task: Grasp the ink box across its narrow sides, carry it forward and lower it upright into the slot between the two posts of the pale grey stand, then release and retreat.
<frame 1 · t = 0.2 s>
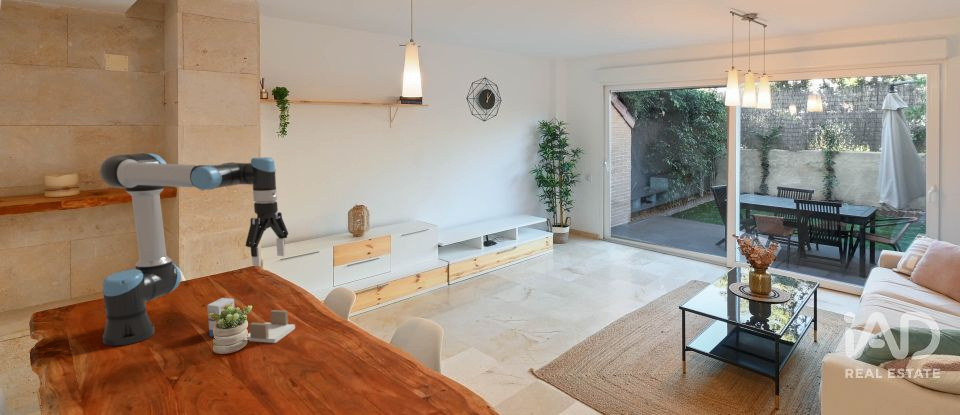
hand: (269, 260, 178), 27 cm above the table, fingers open, 13 cm apart
stand: (270, 334, 180), on the table
ink box: (223, 332, 182), on the table
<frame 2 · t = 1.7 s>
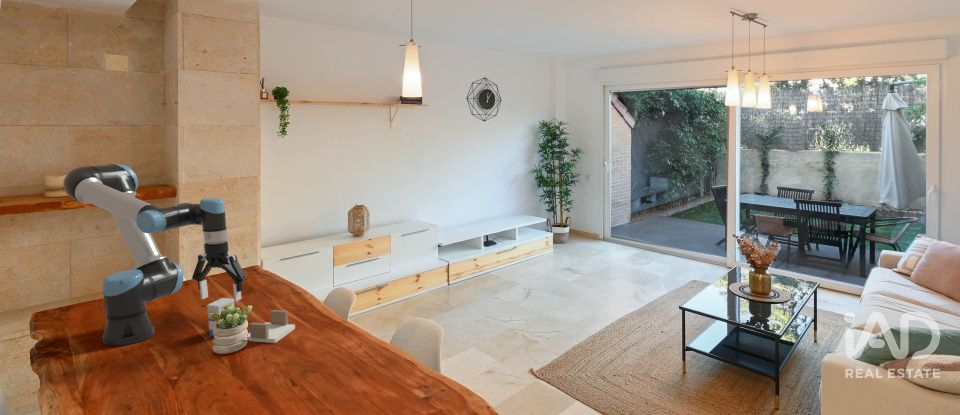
hand: (221, 299, 180), 13 cm above the table, fingers open, 13 cm apart
nothing on the table moved.
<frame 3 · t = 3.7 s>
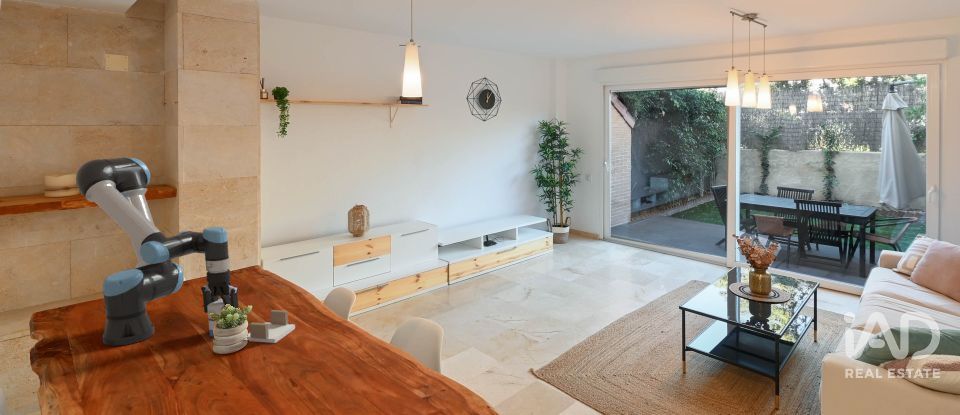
hand: (223, 331, 182), 0 cm above the table, fingers closed on ink box, 5 cm apart
ink box: (223, 332, 182), on the table, touching gripper
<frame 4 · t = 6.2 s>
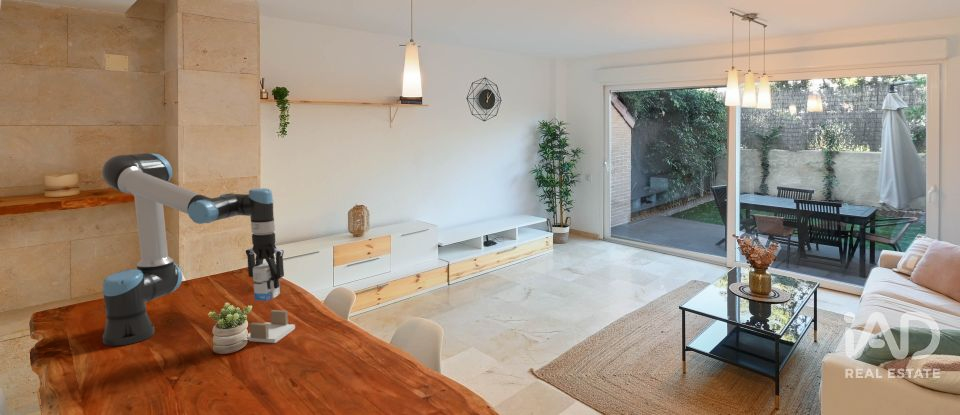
hand: (267, 296, 178), 15 cm above the table, fingers closed on ink box, 5 cm apart
ink box: (267, 297, 178), point 14 cm above the table, touching gripper
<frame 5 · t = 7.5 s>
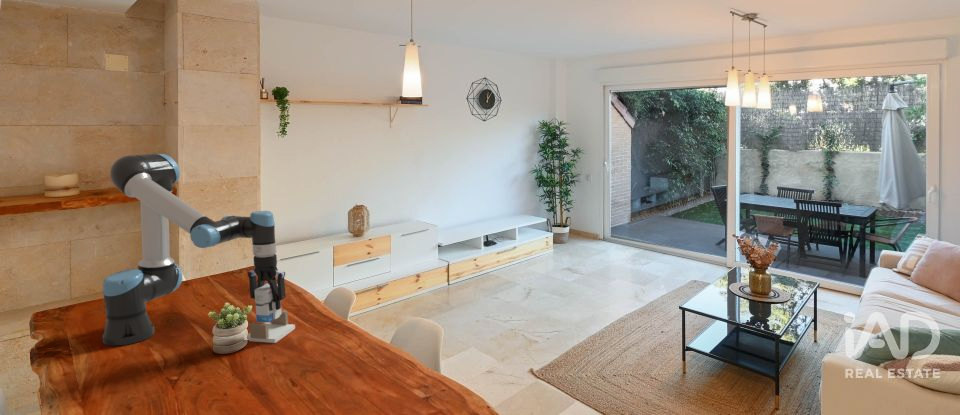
hand: (269, 317, 179), 7 cm above the table, fingers closed on ink box, 5 cm apart
ink box: (269, 318, 180), point 6 cm above the table, touching gripper
when the fingers open (4 cm above the table, at t = 8.7 s): ink box drops 2 cm, resting on stand.
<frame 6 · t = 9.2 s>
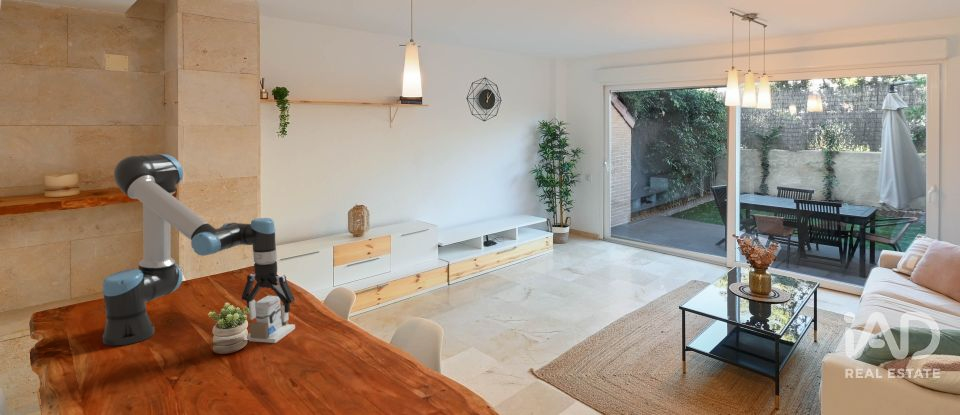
hand: (269, 319, 180), 6 cm above the table, fingers open, 12 cm apart
ink box: (270, 330, 180), point 1 cm above the table, touching stand
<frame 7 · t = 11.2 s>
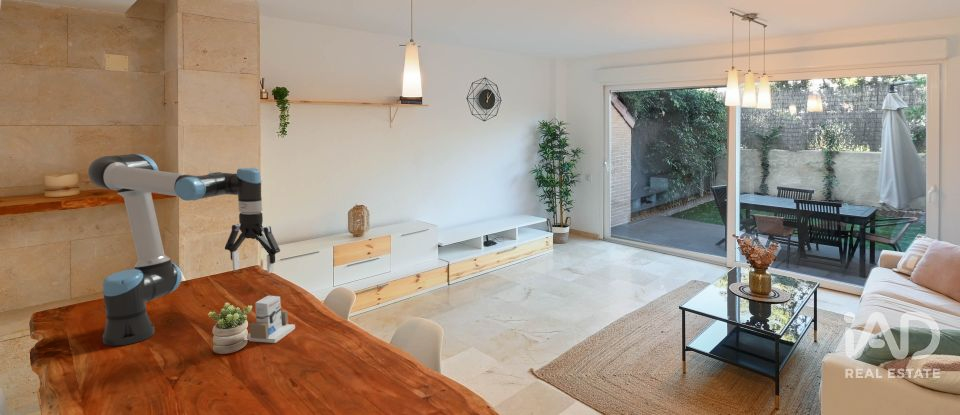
hand: (253, 270, 178), 23 cm above the table, fingers open, 13 cm apart
nothing on the table moved.
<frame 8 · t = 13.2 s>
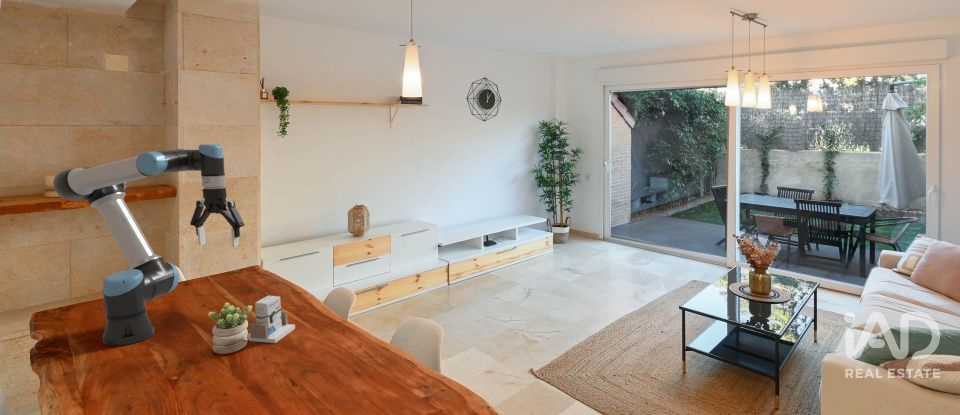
hand: (219, 245, 181), 32 cm above the table, fingers open, 13 cm apart
nothing on the table moved.
at the end: ink box inside the target area on the stand (0.0 cm from its centre), point 1.3 cm above the stand's base; ink box tilted 0°; the gripper is holding nothing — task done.
